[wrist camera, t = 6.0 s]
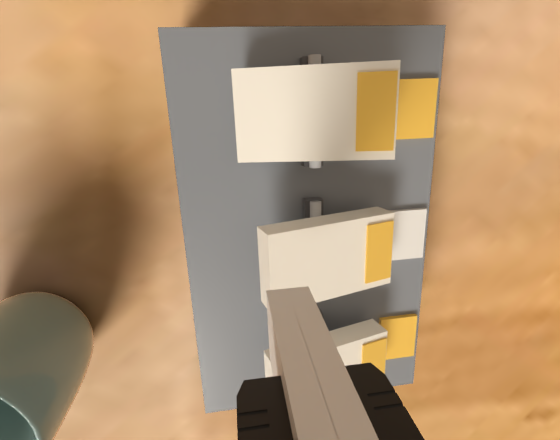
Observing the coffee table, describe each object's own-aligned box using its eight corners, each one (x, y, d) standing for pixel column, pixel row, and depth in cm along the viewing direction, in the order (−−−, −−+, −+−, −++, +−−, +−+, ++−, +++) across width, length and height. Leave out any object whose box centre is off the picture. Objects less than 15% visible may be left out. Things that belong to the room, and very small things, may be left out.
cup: (38, 253, 24) (-81, 346, 15) (130, 322, 27) (77, 438, 17) (-36, 327, 25) (-195, 460, 16) (59, 387, 27) (-28, 533, 18)
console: (209, 352, 28) (204, 430, 22) (175, 48, 22) (152, 20, 15) (377, 331, 30) (422, 397, 23) (392, 45, 24) (461, 18, 17)
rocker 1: (244, 158, 18) (237, 162, 16) (238, 71, 17) (230, 68, 15) (389, 155, 17) (395, 160, 16) (394, 63, 16) (401, 59, 14)
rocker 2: (261, 301, 18) (272, 315, 17) (256, 226, 17) (268, 235, 16) (374, 272, 21) (391, 283, 19) (377, 206, 20) (396, 213, 18)
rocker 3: (267, 409, 20) (276, 430, 19) (263, 350, 19) (273, 367, 18) (370, 373, 23) (385, 389, 21) (372, 318, 22) (388, 331, 20)
